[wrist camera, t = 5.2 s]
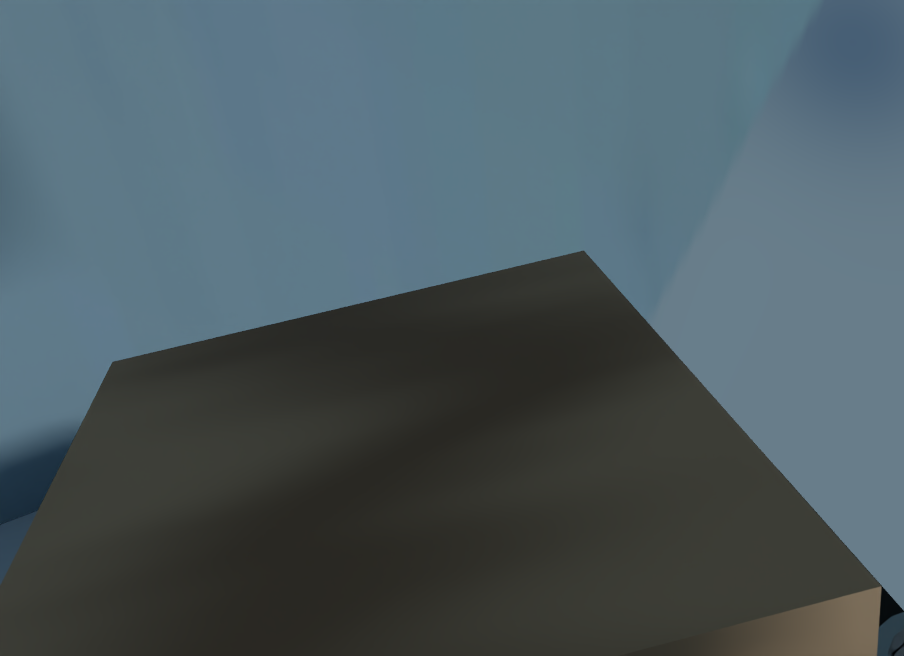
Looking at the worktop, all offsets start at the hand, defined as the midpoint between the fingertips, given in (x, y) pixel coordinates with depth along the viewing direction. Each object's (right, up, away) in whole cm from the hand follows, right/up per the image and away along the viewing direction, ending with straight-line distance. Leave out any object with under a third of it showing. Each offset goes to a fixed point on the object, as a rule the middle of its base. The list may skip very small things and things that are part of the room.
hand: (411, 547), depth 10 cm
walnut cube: (0, 0, +1) cm, 1 cm away
